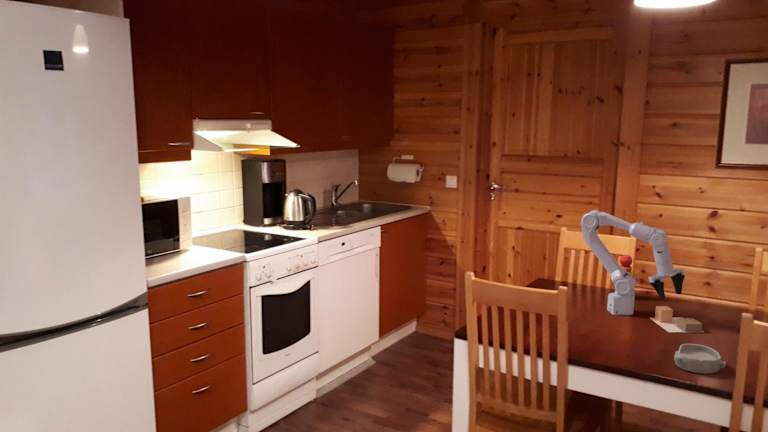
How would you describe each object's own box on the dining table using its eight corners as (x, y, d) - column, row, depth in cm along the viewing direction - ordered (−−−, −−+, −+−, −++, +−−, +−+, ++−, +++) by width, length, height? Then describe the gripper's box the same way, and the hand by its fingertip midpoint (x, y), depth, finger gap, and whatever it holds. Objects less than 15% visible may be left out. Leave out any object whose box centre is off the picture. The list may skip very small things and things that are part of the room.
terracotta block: (660, 322, 221) (661, 309, 220) (654, 318, 225) (655, 306, 225) (671, 322, 221) (673, 309, 220) (666, 318, 226) (667, 305, 225)
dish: (674, 371, 182) (675, 356, 181) (670, 354, 195) (671, 340, 194) (727, 379, 177) (729, 363, 176) (719, 361, 190) (721, 346, 189)
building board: (669, 335, 211) (670, 324, 210) (649, 320, 226) (649, 310, 226) (704, 334, 211) (705, 324, 211) (682, 319, 227) (683, 310, 226)
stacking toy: (633, 295, 257) (636, 253, 254) (634, 300, 250) (638, 258, 247) (614, 293, 260) (617, 252, 257) (615, 298, 253) (618, 256, 249)
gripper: (654, 266, 216) (662, 302, 217) (686, 257, 220) (694, 292, 220) (642, 265, 223) (649, 300, 223) (673, 256, 227) (680, 290, 227)
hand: (670, 296), depth 222 cm, fingers open, 7 cm apart
